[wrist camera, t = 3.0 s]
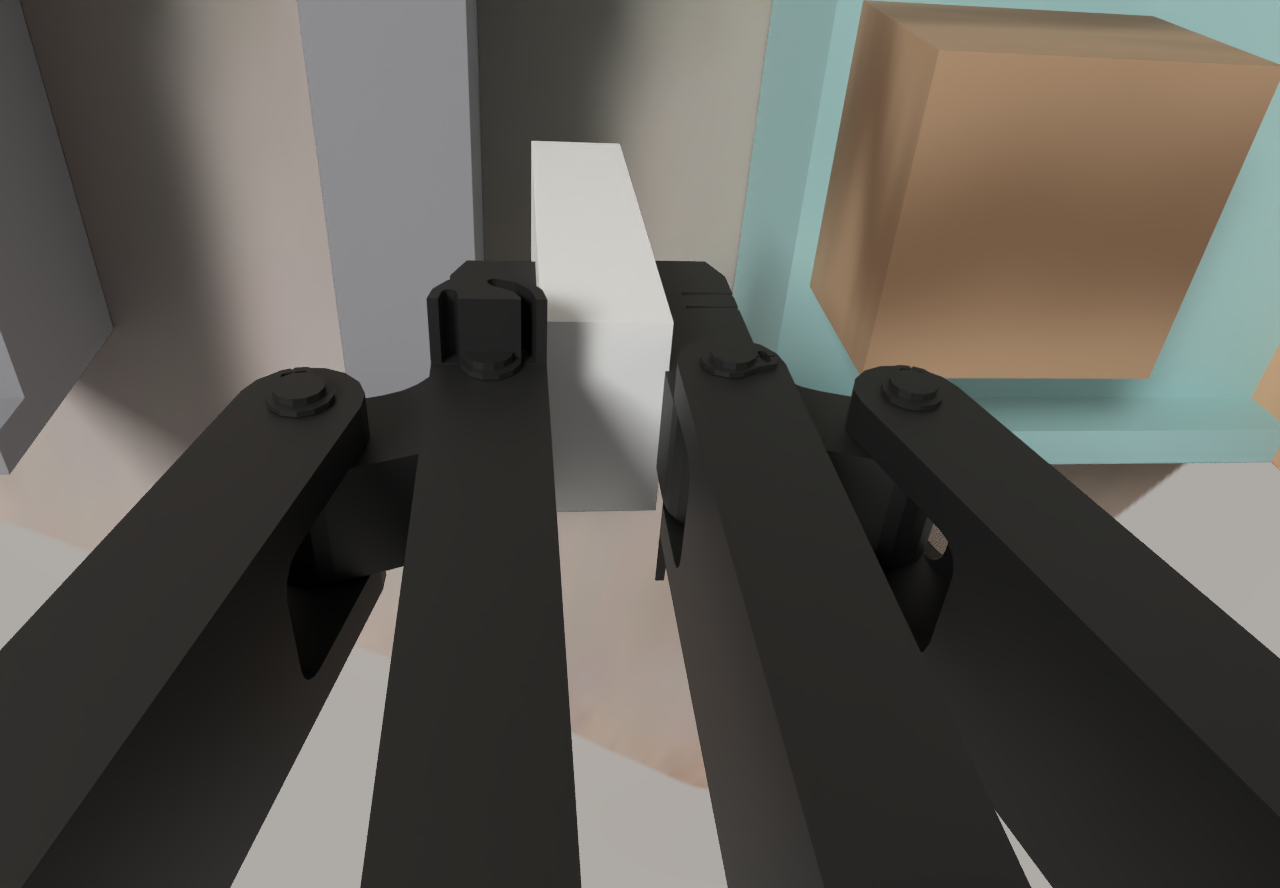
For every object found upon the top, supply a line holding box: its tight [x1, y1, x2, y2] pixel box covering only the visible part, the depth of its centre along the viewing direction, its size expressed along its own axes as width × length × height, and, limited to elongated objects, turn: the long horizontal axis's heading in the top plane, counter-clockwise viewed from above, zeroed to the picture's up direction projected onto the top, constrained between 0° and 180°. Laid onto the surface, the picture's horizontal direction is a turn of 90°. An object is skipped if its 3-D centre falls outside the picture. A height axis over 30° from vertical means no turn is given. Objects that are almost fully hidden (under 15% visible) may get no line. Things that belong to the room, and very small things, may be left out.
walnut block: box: [810, 0, 1280, 379], centre depth 18 cm, size 6×6×4 cm
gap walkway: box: [0, 0, 1280, 474], centre depth 20 cm, size 14×34×9 cm, turn 87°
